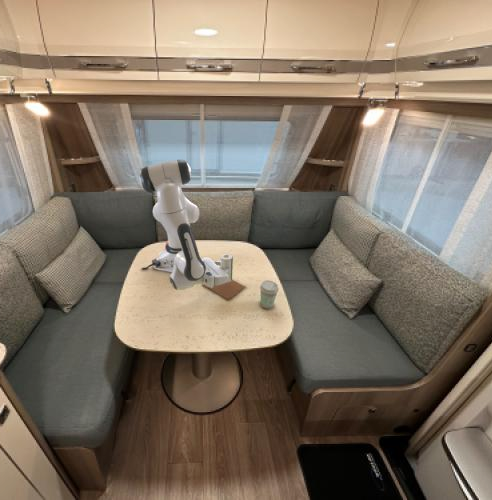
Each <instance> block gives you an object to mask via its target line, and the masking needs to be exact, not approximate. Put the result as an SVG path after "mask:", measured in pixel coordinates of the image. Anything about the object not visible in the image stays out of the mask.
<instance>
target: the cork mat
mask: <svg viewBox="0 0 492 500" xmlns="http://www.w3.org/2000/svg"><path fill="white" fill-rule="evenodd" d="M201 285H202V286H204V287H205V288H207V289H208V290H210V291H211V292H213V293H215V294H217V295H219V296H221V297H222V298H224V299H225V300H227V301H230V300H231V299H232V298H233V297H235V296H237V294H238V293H240V292H241V291H242V290H244V289H245V288H246V286H245V285H243V284H241V283H239V282H238V281H235V280H234V279H232V280H231V281H230V282H226V283H224V284H221V285H218V286H215V285H214V287H212V288H209V287H208V286H206V285H203V284H201Z"/></svg>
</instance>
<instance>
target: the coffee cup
mask: <svg viewBox="0 0 492 500" xmlns="http://www.w3.org/2000/svg"><path fill="white" fill-rule="evenodd" d="M259 289H260V306H261V307H262V308H263V309H267V310H270V309H272V308H273V307H274V304H275V300H276V298H277V294H278V292H279V290H280V289H279V285H278V284H277V282H275V281H273V280H264V281H262V282H261V284H260V285H259Z"/></svg>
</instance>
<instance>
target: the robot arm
mask: <svg viewBox="0 0 492 500" xmlns="http://www.w3.org/2000/svg"><path fill="white" fill-rule="evenodd" d="M138 175H139V176H138V179H139V184H140V185H141V188H142V189H143V190H144V191H145V192H147V193H149V194H151V195H152V196H155V192H156V200H157V202H155V204H154V205H153V208H152V217H153V218H154V220H156V221H157V222H158V223H160V224H161V226H162V227H163V228H164V230H165V232H166V236H167V240H166V242H165V246H164V249H162V250H161V251H160V252H159V253H158V254H157V257H156V258H154V259H152V260H151V264H149V265H147V266H146V267H142V268H141V270H148V269H149V268H150V267H152V266H153V269H154V270H159V271H163V272H169V273H170V275H169V282H170V284H171V286H172V287H173V289H175V290H176V291H183V290H187V289H190V288H194V286H198V285H202V284H203V285H206V286H208V287H209V288H212V287H214V285H215V286H218V285H221V284H224V283H226V282H228V274H227V272H230V268H226V270H222V269H221V268H220V260H219V261H217V260H212V259H211V258H210V257H204V258H201V256H200V252H199V250H198V246H197V243H196V239H195V236H194V232H193V230H192V226H191V224H195V223H196V222H198V220H199V219H200V216H201V215H200V213H201V212H200V209H199V207H198V206H197V204H194V203H192V202H191V201H190V200H189V199H188V198H187V197H186V196H185V194H184V193H183V189H182V186H185V185H187V184H188V183H190V181H191V177H192V169H191V166H190V165H189V163H188V161H186V160H185V159H176V160H168V161H163V162H159V163H155V164H153V165H150V166H144V167H143V168H141V169H140V171H139V174H138ZM203 285H202V286H203Z"/></svg>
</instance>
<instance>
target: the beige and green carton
mask: <svg viewBox="0 0 492 500" xmlns="http://www.w3.org/2000/svg"><path fill="white" fill-rule="evenodd" d="M219 257H220V259H219V261H220V266H219V267H220V268H221V269H222V270H226V268H230V272H227V274H228V282H230V281H231V280H233V268H234V256H233V255H232V254H230V253H226V252H225V253H222V254H221V255H220V256H219Z"/></svg>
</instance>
